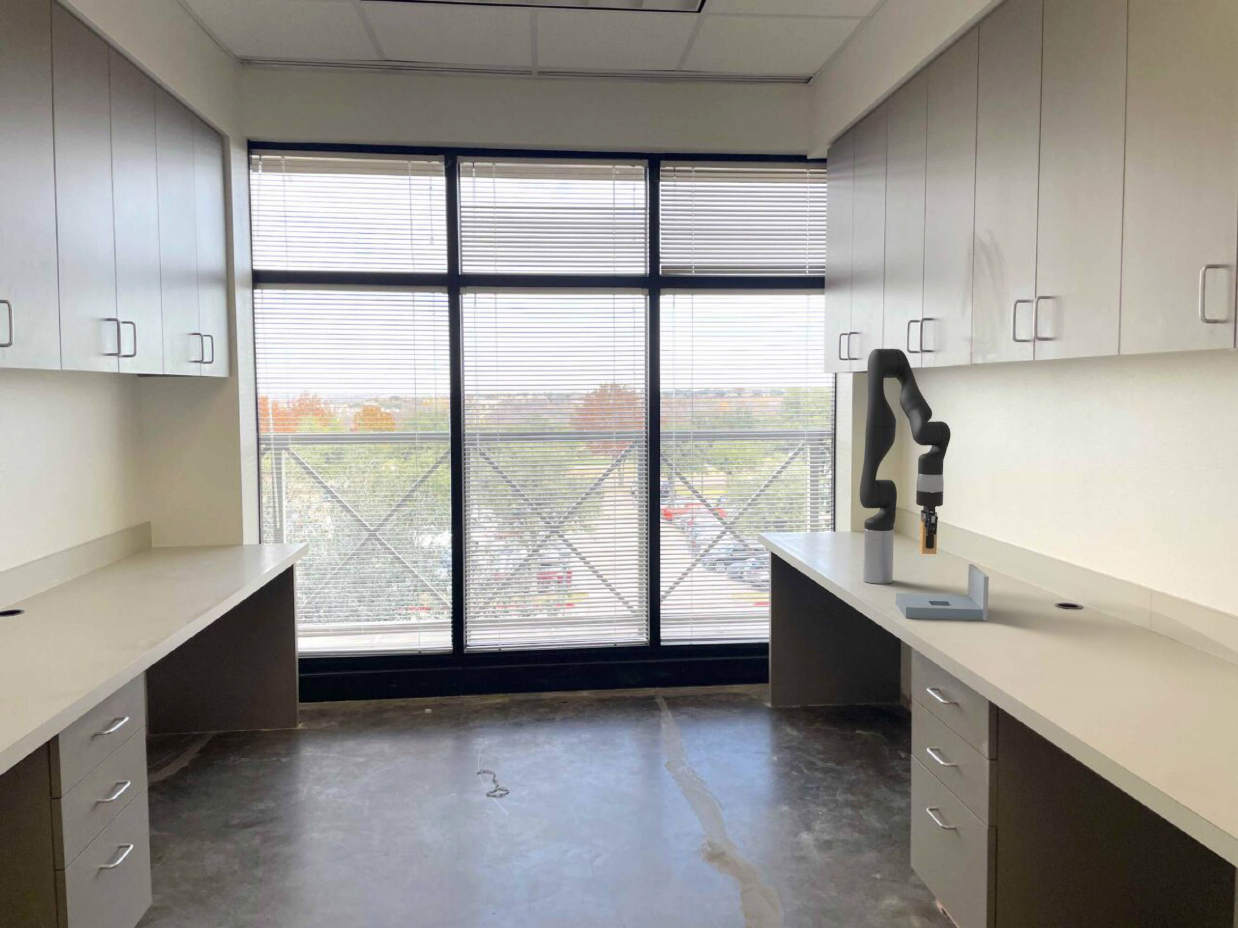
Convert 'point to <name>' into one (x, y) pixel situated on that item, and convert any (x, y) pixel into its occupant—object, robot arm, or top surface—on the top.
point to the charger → (923, 541)
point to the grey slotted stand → (950, 601)
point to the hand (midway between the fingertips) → (928, 546)
